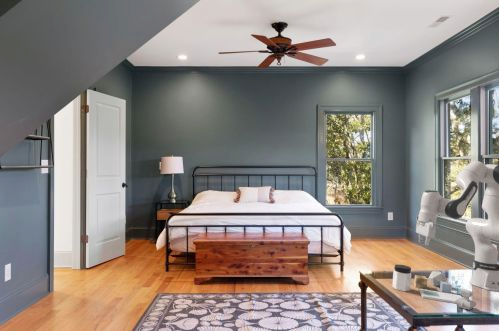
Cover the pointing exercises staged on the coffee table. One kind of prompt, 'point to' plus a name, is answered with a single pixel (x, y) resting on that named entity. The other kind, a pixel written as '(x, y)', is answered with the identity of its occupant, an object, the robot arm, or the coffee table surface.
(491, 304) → the coffee table surface
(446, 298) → the board
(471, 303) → the stamp
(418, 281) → the block oak
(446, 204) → the robot arm
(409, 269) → the jar
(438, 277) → the die
